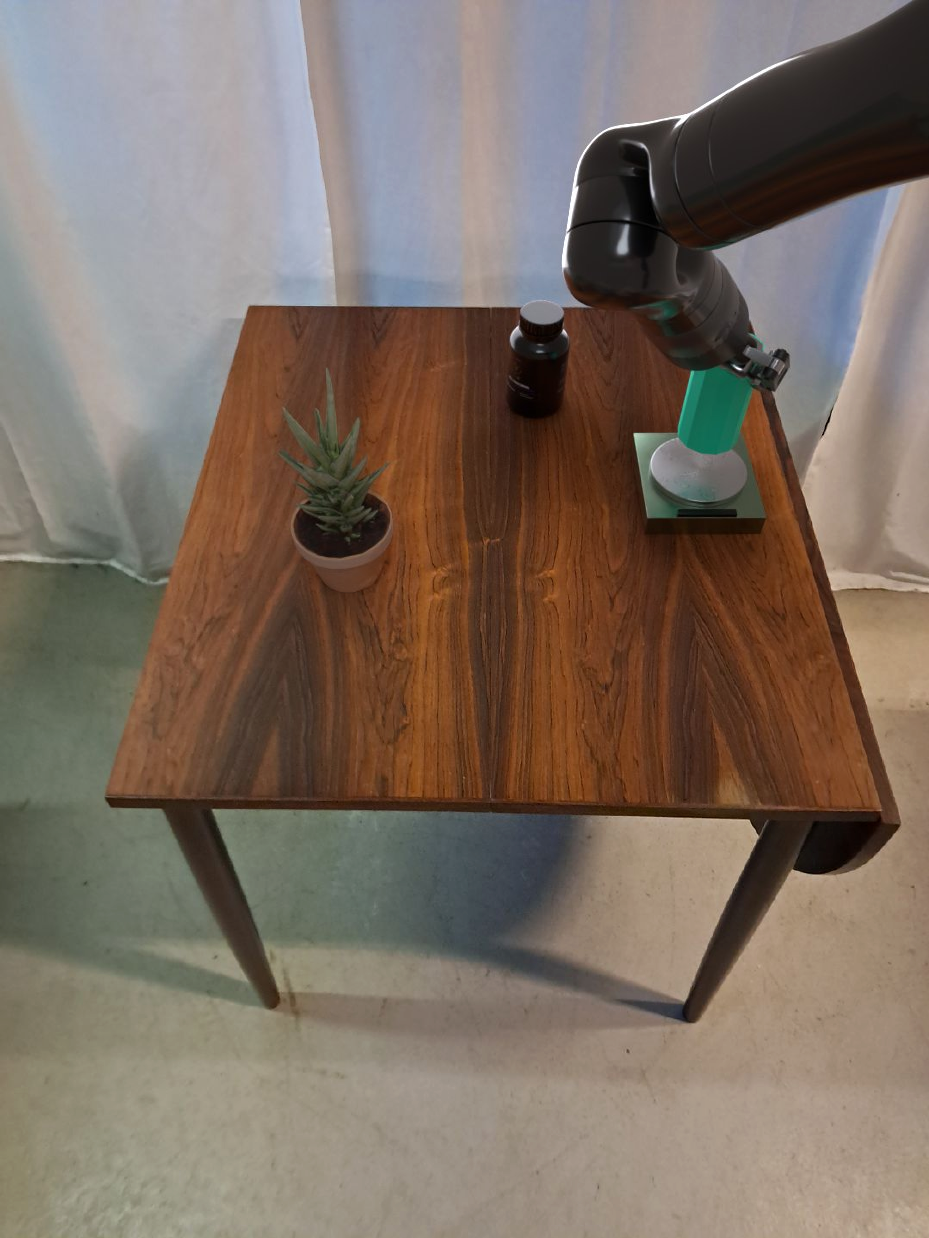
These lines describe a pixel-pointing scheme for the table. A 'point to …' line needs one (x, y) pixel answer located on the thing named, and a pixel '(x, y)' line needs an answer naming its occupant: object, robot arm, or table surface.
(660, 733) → the table surface
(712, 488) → the scale
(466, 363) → the table surface
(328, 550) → the potted plant
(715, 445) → the candle
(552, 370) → the supplement bottle
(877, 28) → the robot arm
